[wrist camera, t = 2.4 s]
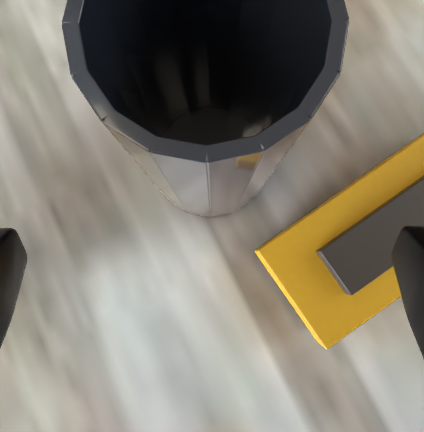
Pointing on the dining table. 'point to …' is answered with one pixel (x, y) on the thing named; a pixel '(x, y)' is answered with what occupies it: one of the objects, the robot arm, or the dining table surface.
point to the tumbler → (206, 86)
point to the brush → (349, 247)
